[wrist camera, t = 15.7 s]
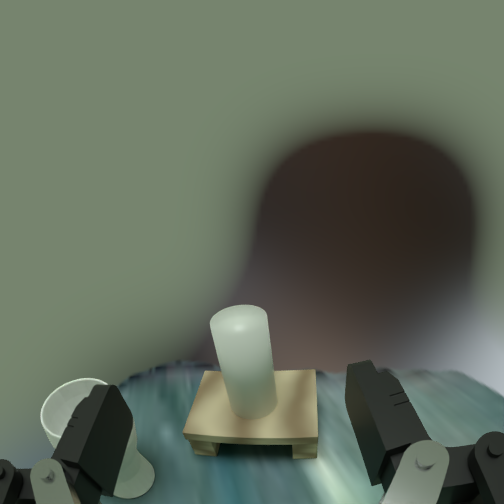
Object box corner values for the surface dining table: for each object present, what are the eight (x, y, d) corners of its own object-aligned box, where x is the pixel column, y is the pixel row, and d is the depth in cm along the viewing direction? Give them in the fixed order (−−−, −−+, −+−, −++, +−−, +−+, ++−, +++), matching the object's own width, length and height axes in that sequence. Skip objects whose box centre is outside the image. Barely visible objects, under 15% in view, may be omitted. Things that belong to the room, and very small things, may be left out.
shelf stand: (315, 396, 42) (315, 369, 40) (316, 460, 31) (317, 436, 29) (213, 397, 45) (205, 370, 43) (194, 456, 34) (182, 432, 32)
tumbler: (265, 380, 39) (254, 299, 35) (285, 408, 34) (276, 323, 30) (224, 395, 38) (203, 314, 33) (240, 425, 32) (219, 342, 28)
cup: (94, 507, 24) (26, 442, 19) (97, 450, 34) (48, 379, 29) (169, 504, 26) (116, 440, 21) (162, 444, 36) (123, 369, 31)
